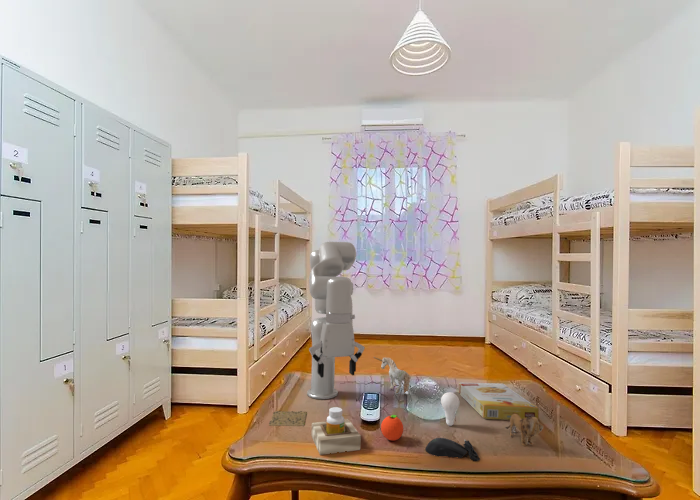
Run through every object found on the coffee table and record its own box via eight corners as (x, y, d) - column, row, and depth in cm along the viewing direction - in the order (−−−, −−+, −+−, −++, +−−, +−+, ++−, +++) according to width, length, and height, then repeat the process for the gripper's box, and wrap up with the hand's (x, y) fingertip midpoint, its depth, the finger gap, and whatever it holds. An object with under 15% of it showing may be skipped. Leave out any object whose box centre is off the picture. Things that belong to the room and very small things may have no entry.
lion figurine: (546, 450, 109) (546, 419, 109) (531, 452, 107) (531, 420, 108) (511, 429, 123) (511, 401, 124) (498, 430, 122) (498, 402, 122)
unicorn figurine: (382, 384, 168) (383, 354, 169) (418, 395, 154) (418, 362, 155) (372, 387, 163) (373, 356, 164) (408, 399, 149) (408, 365, 150)
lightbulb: (460, 424, 126) (460, 391, 126) (457, 431, 120) (458, 396, 121) (442, 420, 128) (442, 388, 129) (439, 427, 123) (439, 393, 123)
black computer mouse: (422, 443, 112) (423, 430, 112) (471, 446, 111) (471, 433, 111) (427, 460, 102) (428, 446, 102) (481, 463, 101) (481, 449, 101)
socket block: (311, 436, 114) (311, 422, 114) (348, 431, 118) (348, 418, 118) (319, 455, 103) (320, 439, 103) (360, 449, 106) (360, 434, 107)
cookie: (267, 427, 121) (268, 424, 121) (274, 412, 133) (274, 410, 133) (304, 427, 121) (304, 424, 121) (307, 413, 133) (307, 410, 133)
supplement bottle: (341, 447, 107) (342, 414, 108) (323, 445, 108) (324, 411, 109) (345, 439, 112) (346, 407, 113) (328, 437, 114) (329, 405, 114)
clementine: (387, 431, 119) (387, 409, 119) (407, 436, 116) (407, 413, 116) (377, 441, 112) (377, 417, 112) (398, 447, 109) (399, 422, 109)
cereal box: (484, 405, 130) (457, 380, 158) (483, 421, 130) (457, 393, 158) (540, 406, 131) (503, 382, 159) (539, 422, 130) (503, 395, 159)
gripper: (360, 316, 118) (359, 370, 118) (307, 317, 113) (306, 373, 112) (368, 319, 111) (367, 377, 110) (312, 321, 106) (311, 381, 105)
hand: (336, 375), depth 111 cm, fingers open, 9 cm apart
